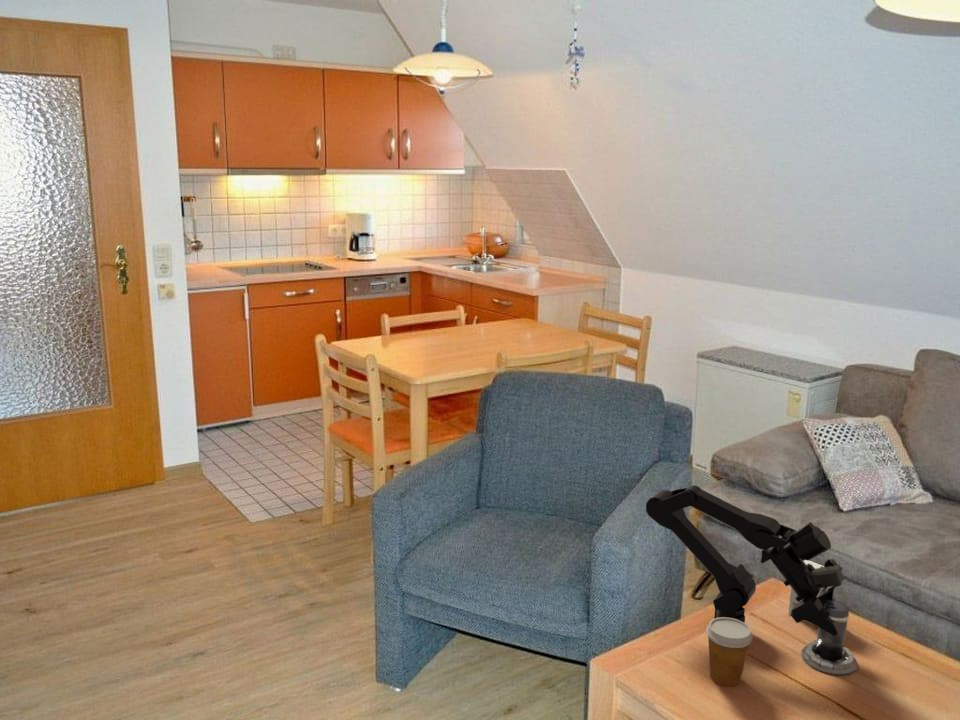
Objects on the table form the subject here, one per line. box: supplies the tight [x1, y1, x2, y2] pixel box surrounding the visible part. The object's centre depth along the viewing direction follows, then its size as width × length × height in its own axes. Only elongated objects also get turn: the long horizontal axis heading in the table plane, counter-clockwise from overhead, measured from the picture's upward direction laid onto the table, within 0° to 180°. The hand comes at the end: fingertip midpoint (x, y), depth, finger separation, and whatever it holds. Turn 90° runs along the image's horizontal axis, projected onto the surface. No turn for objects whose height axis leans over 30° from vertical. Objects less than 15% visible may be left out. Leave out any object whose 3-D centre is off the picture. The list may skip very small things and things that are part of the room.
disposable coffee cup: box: [705, 617, 754, 687], centre depth 180 cm, size 10×10×12 cm
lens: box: [816, 600, 850, 660], centre depth 187 cm, size 6×6×12 cm
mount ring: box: [800, 639, 858, 676], centre depth 189 cm, size 12×12×2 cm
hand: (839, 628), depth 186 cm, fingers closed on lens, 6 cm apart
